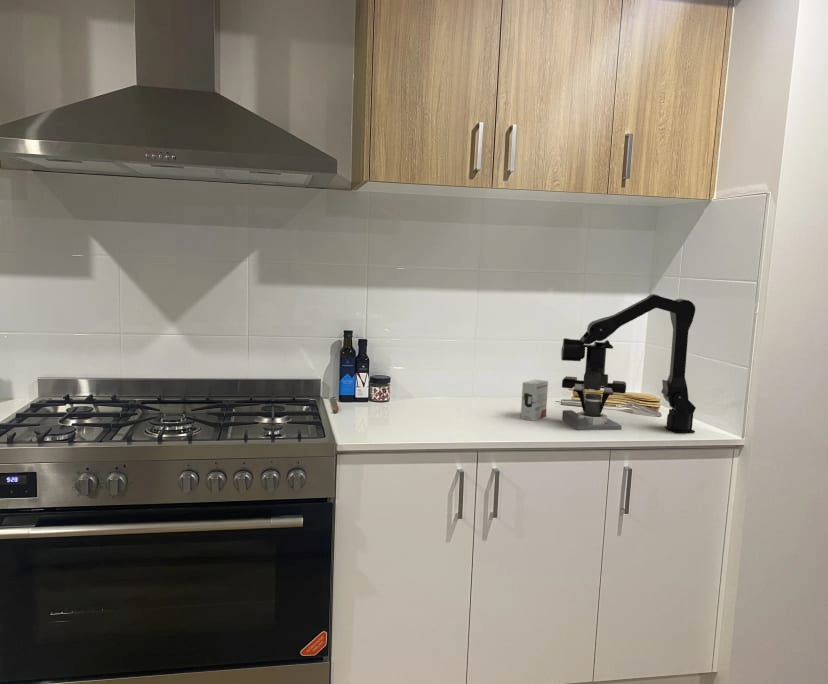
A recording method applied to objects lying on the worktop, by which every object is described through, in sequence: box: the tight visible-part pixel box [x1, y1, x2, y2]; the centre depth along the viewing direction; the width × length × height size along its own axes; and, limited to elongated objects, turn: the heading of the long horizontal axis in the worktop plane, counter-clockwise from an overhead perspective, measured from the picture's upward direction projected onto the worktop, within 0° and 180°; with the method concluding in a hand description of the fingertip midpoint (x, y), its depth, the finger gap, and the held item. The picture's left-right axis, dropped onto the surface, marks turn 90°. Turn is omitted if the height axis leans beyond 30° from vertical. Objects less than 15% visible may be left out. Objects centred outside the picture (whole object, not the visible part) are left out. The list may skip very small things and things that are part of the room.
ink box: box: [520, 378, 549, 422], centre depth 213 cm, size 9×5×12 cm, turn 141°
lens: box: [584, 392, 602, 417], centre depth 206 cm, size 5×5×7 cm
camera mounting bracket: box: [561, 409, 623, 431], centre depth 206 cm, size 14×12×4 cm
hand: (592, 412), depth 206 cm, fingers closed on lens, 4 cm apart
